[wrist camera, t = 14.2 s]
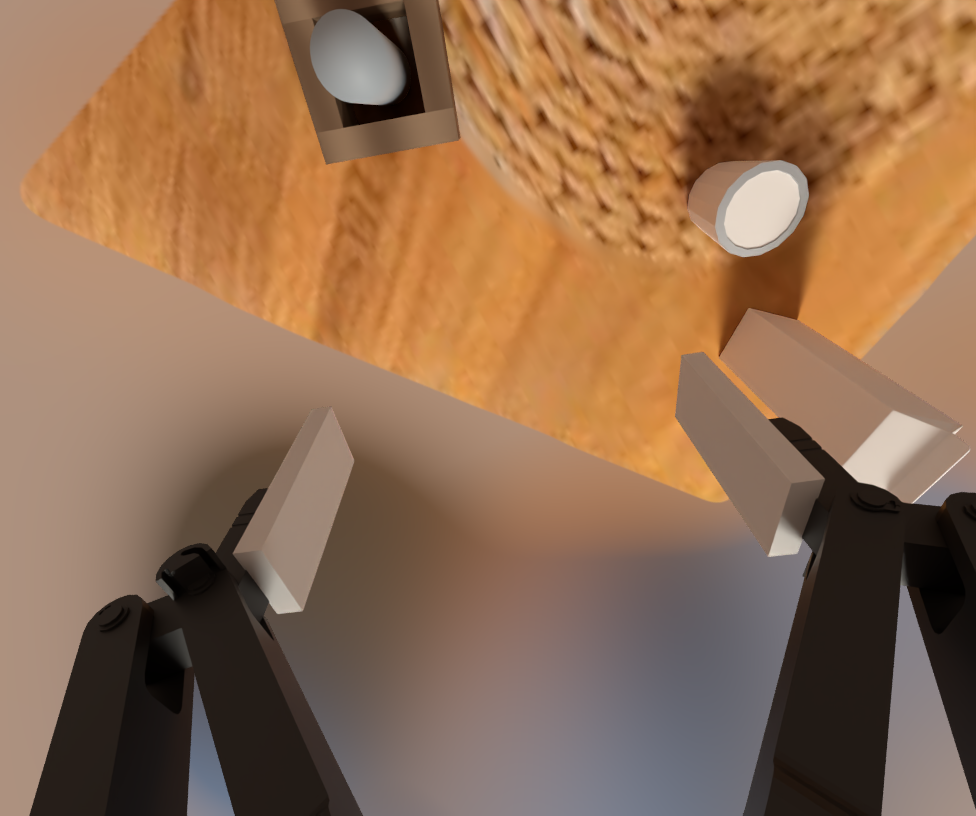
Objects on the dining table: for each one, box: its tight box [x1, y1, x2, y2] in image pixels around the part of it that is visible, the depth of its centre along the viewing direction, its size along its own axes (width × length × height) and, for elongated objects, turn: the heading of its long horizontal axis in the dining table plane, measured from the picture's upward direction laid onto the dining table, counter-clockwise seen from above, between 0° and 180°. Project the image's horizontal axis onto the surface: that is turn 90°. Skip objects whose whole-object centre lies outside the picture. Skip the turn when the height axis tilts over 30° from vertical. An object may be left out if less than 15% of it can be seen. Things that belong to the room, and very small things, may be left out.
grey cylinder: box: [310, 9, 411, 106], centre depth 29 cm, size 4×4×12 cm
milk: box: [719, 308, 970, 504], centre depth 38 cm, size 6×6×22 cm
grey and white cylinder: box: [687, 160, 809, 257], centre depth 36 cm, size 7×7×7 cm
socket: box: [275, 0, 460, 164], centre depth 32 cm, size 10×10×5 cm
